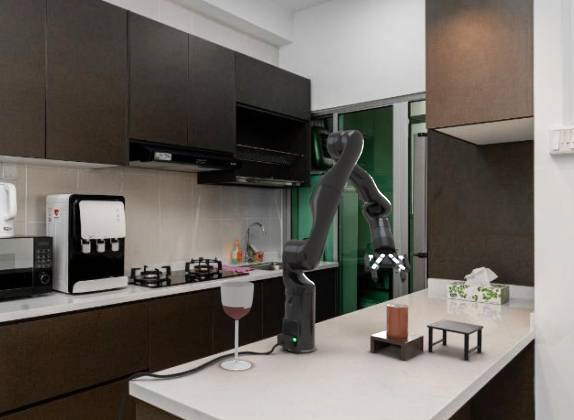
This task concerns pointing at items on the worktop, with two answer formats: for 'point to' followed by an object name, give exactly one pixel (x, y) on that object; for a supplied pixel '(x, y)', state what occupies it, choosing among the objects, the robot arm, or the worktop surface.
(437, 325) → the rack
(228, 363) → the wineglass
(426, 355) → the worktop surface
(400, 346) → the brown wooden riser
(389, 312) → the cup
